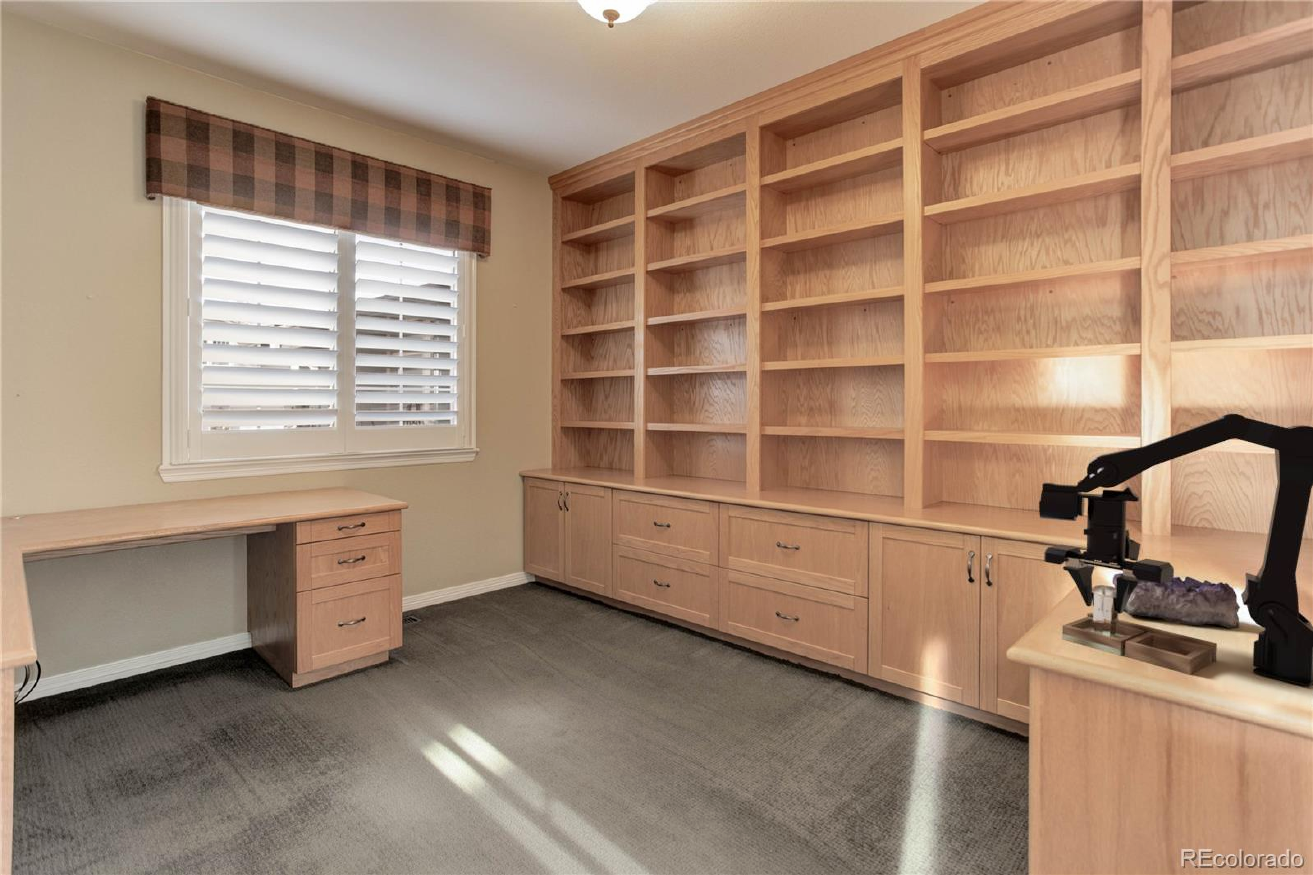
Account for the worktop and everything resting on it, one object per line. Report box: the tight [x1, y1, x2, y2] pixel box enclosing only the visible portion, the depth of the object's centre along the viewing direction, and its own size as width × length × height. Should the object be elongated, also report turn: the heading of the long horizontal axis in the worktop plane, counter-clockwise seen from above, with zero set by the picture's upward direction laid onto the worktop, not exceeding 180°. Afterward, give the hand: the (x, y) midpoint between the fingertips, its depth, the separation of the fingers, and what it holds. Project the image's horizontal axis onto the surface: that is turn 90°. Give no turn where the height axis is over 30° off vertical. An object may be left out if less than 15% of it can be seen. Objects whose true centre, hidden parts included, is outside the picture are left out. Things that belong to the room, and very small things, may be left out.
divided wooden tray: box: [1061, 612, 1218, 675], centre depth 113 cm, size 19×11×3 cm, turn 32°
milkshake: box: [1092, 584, 1120, 638], centre depth 116 cm, size 4×5×10 cm
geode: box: [1112, 572, 1241, 630], centre depth 130 cm, size 20×12×10 cm, turn 61°
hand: (1104, 609), depth 117 cm, fingers open, 5 cm apart
